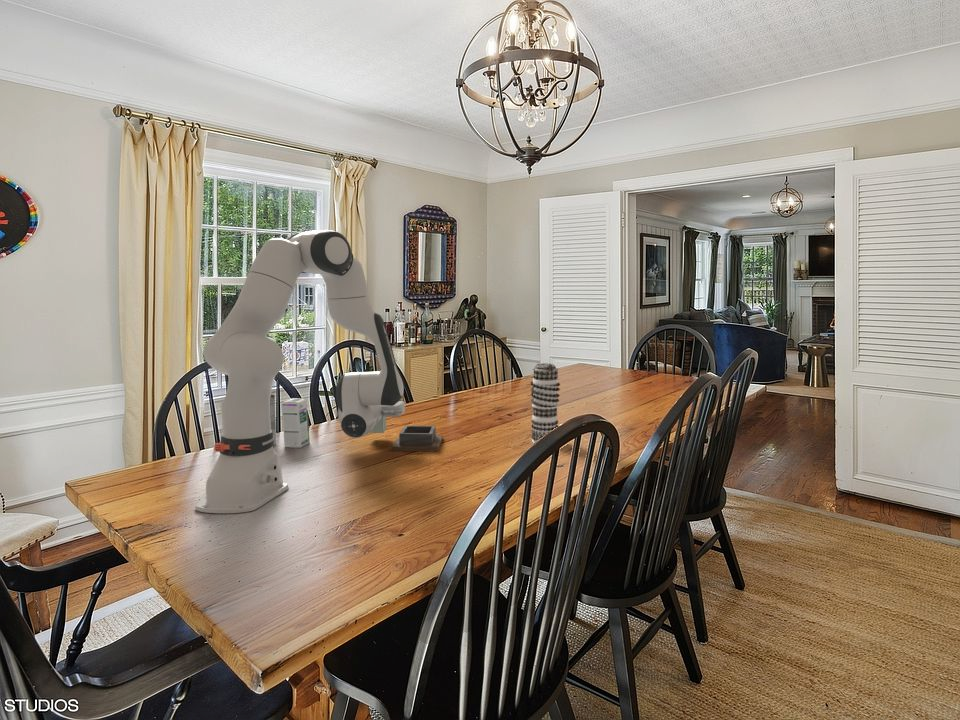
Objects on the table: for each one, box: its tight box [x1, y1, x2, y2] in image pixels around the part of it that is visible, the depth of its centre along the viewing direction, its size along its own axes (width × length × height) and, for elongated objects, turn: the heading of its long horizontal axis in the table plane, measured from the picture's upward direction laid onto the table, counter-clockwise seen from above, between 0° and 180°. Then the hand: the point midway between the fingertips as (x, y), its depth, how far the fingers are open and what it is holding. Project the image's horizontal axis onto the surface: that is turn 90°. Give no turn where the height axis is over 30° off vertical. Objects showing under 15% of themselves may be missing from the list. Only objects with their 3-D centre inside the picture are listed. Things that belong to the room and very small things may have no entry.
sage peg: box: [368, 417, 387, 434], centre depth 184 cm, size 5×5×15 cm
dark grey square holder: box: [391, 425, 444, 452], centre depth 180 cm, size 14×14×5 cm
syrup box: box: [281, 397, 311, 449], centre depth 179 cm, size 6×6×14 cm
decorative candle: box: [530, 362, 561, 444], centre depth 181 cm, size 9×9×25 cm
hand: (376, 402), depth 185 cm, fingers closed on sage peg, 5 cm apart
